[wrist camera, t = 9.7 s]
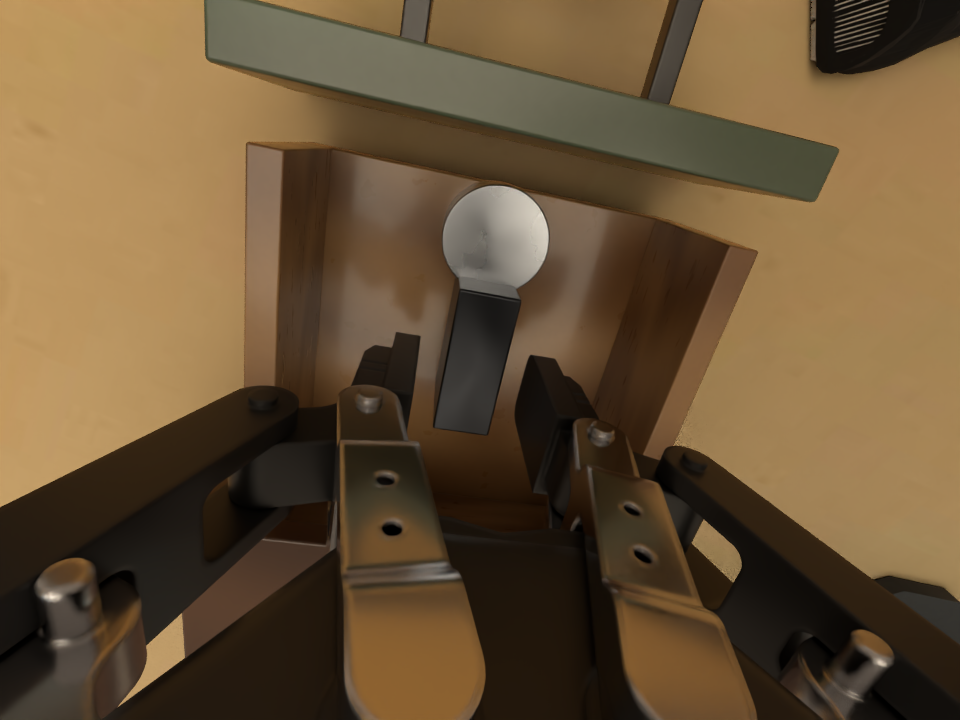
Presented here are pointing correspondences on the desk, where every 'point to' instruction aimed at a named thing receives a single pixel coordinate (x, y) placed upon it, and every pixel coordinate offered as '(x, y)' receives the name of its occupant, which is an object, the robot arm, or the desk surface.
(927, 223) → the desk surface
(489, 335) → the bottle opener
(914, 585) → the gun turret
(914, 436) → the desk surface
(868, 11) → the electric trimmer
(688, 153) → the drawer
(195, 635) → the cabinet
